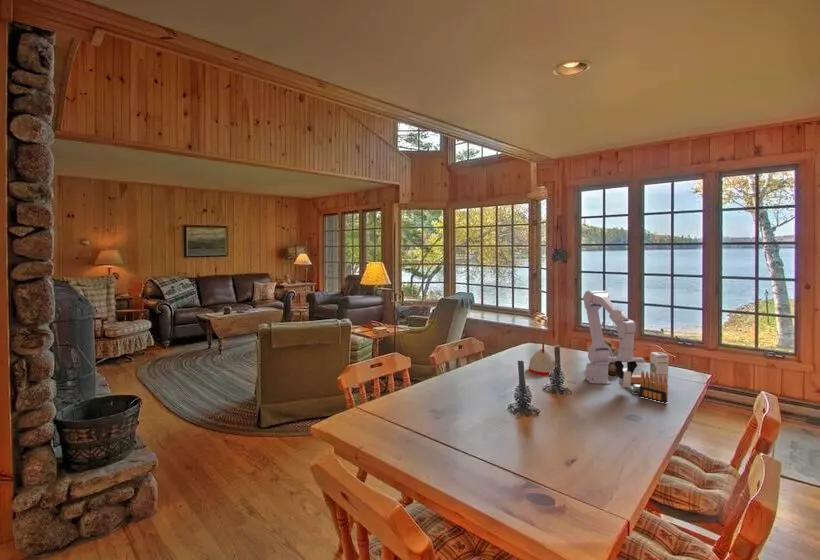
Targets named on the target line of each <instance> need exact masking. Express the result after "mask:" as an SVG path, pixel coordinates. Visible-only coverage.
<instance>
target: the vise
mask: <svg viewBox="0 0 820 560" xmlns="http://www.w3.org/2000/svg"><path fill="white" fill-rule="evenodd" d="M627 388H628V389H629V390H630V391H631V392H630V393H632V392H633V393H638V394H637V395H639V389H640V384H639V383H631V387H625V389H627ZM628 389H627V390H628ZM629 390H628V391H629ZM633 393H632V394H633Z"/></svg>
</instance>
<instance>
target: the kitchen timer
mask: <svg viewBox="0 0 820 560" xmlns="http://www.w3.org/2000/svg"><path fill="white" fill-rule="evenodd" d="M541 344H542V347H541V348H540V349H538V350H536V351H535V352H534V354H533V355H532V356H531V357H530V359H529V364H528V365H529V366H528V371H529V372H530V373H531V374H534V375H538V374H539V375H538V376H550V375H549V373H550V371H551V370H552V369H553V368H554V366H555V360H556V358H554V357H553V355H552V353H551V352H550V351H549V350H548V349H545V342H542V343H541Z"/></svg>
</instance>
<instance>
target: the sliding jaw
mask: <svg viewBox="0 0 820 560" xmlns="http://www.w3.org/2000/svg"><path fill="white" fill-rule="evenodd" d="M645 376H646V374H644V380H645ZM640 380H641V374H632V376H631V383H639V384H640ZM649 381H650V377H649Z"/></svg>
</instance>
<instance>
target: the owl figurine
mask: <svg viewBox="0 0 820 560" xmlns="http://www.w3.org/2000/svg"><path fill="white" fill-rule="evenodd" d="M604 343H606V344H607V345H608V346H610V350H611V352H612V354H613V357H615V356H618V355H619V348H617V347H615V346H614V345H613V343H612V342H611V340H609V339H604ZM595 350H602V349H595ZM608 375H609V376H608V377H614V376H616V377H618V376H619V375H618V371H617V368H616V365H615V363H614V362H610V364H608Z"/></svg>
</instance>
